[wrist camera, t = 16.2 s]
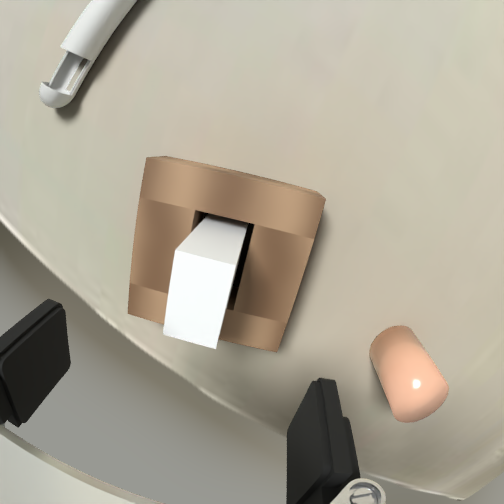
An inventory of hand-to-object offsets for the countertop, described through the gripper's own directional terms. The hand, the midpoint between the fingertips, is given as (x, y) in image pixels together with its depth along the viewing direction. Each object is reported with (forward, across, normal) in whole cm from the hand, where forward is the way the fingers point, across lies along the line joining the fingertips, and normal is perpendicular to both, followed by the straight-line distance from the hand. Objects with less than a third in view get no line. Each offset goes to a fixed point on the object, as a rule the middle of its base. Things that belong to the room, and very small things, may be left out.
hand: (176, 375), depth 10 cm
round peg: (+16, -17, +6) cm, 24 cm away
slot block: (+16, +1, 0) cm, 16 cm away
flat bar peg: (+16, +1, 0) cm, 16 cm away
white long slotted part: (+16, +15, -17) cm, 28 cm away
